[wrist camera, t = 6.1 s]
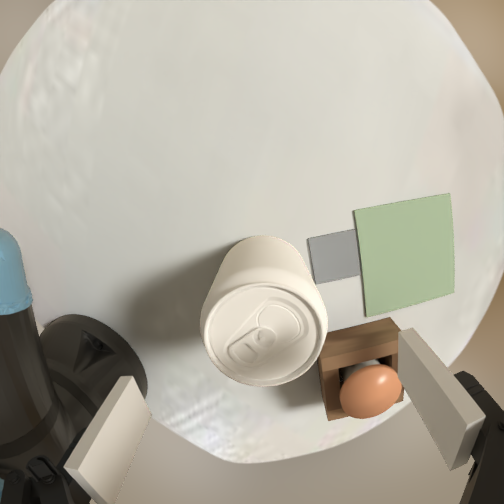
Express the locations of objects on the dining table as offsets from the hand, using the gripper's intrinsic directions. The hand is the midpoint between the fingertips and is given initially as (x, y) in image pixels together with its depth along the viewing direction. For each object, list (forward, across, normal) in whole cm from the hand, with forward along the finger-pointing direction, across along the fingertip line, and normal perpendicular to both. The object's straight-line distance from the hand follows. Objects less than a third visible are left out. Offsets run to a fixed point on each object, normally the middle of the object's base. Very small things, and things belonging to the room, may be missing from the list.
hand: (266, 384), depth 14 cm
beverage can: (+16, 0, 0) cm, 17 cm away
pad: (+16, +15, -1) cm, 22 cm away
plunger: (+16, +8, -12) cm, 21 cm away
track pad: (+16, +7, 0) cm, 18 cm away
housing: (+16, +8, -12) cm, 21 cm away
